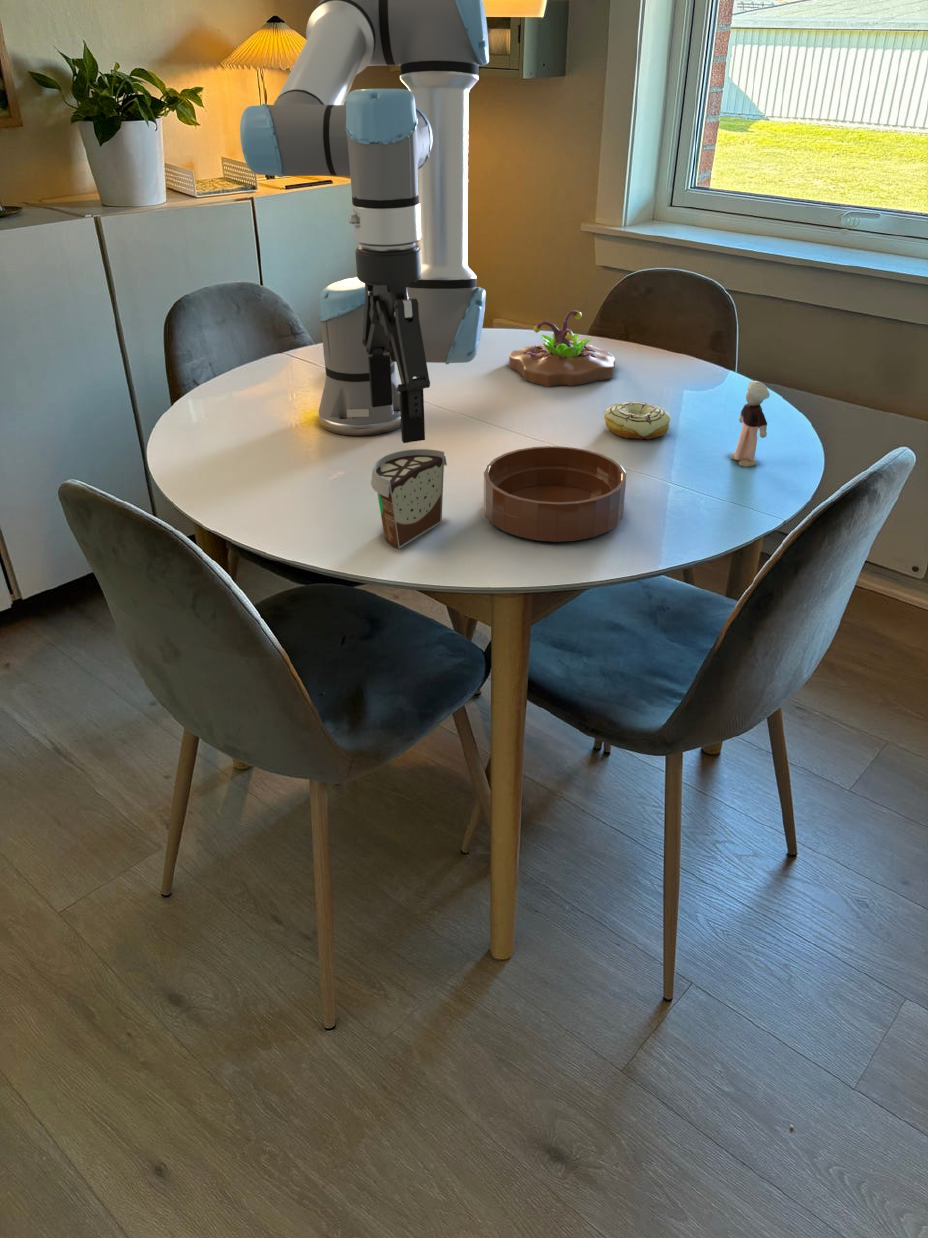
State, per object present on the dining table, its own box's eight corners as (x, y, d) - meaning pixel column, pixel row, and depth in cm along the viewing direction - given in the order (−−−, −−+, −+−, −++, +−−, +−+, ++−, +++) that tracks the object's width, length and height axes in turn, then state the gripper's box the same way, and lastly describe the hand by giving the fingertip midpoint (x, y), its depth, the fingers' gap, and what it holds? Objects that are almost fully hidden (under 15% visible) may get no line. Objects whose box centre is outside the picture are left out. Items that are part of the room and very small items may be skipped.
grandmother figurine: (719, 455, 146) (731, 376, 139) (739, 451, 147) (752, 372, 141) (750, 473, 140) (764, 391, 133) (771, 469, 141) (786, 387, 135)
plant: (631, 379, 177) (636, 320, 171) (534, 390, 173) (536, 329, 167) (590, 350, 194) (593, 294, 188) (500, 359, 189) (501, 303, 183)
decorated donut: (651, 447, 149) (654, 425, 147) (592, 433, 154) (594, 411, 152) (678, 427, 156) (681, 405, 154) (621, 414, 162) (623, 393, 160)
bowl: (464, 496, 135) (464, 457, 131) (583, 476, 140) (586, 438, 137) (516, 556, 119) (517, 513, 116) (648, 530, 125) (652, 489, 122)
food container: (413, 507, 132) (410, 440, 126) (448, 518, 129) (446, 450, 123) (355, 541, 123) (349, 471, 118) (391, 553, 120) (387, 482, 115)
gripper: (330, 228, 115) (343, 395, 126) (387, 268, 95) (397, 462, 107) (388, 224, 117) (396, 388, 129) (455, 262, 98) (458, 452, 109)
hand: (397, 422), depth 118 cm, fingers open, 13 cm apart
